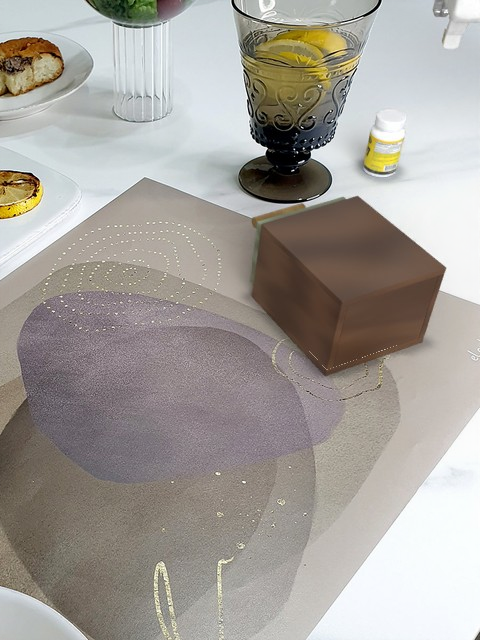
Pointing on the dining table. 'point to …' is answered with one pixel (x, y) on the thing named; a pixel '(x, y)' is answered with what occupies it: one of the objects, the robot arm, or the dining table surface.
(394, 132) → the supplement bottle
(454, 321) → the dining table surface
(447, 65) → the dining table surface
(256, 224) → the drawer
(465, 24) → the robot arm
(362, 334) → the cabinet
